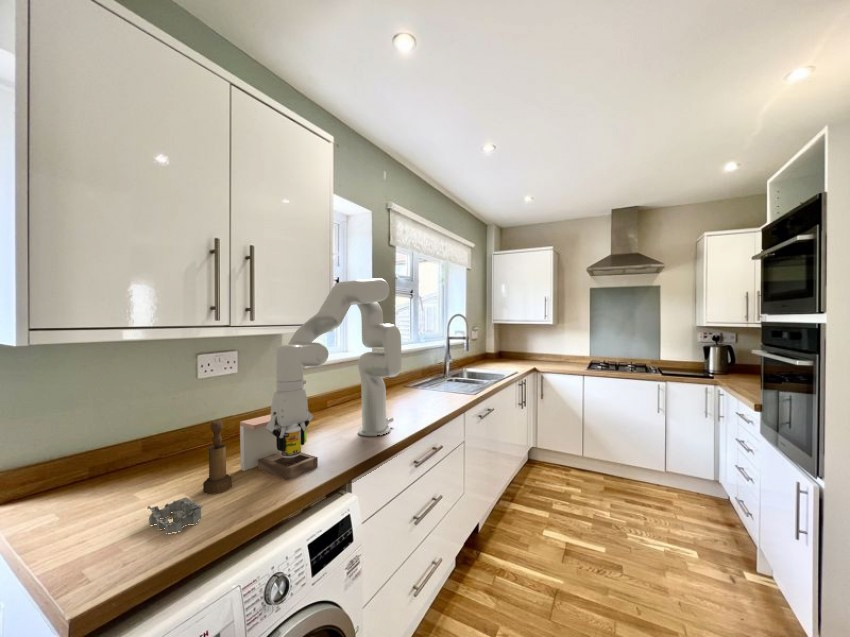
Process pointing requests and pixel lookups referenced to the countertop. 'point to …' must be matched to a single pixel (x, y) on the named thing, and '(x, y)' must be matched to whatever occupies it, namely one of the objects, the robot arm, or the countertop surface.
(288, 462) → the socket block
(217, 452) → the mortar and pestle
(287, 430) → the supplement bottle
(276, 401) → the robot arm
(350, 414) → the countertop surface
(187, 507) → the egg carton
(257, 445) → the pink-topped white panel
